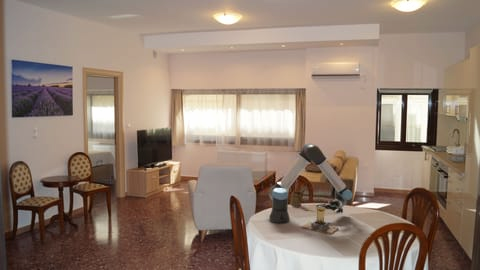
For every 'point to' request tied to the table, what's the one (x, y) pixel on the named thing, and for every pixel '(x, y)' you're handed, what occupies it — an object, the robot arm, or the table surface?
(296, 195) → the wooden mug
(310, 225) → the wooden board with frame
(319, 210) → the brass fitting
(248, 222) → the table surface
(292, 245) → the table surface
